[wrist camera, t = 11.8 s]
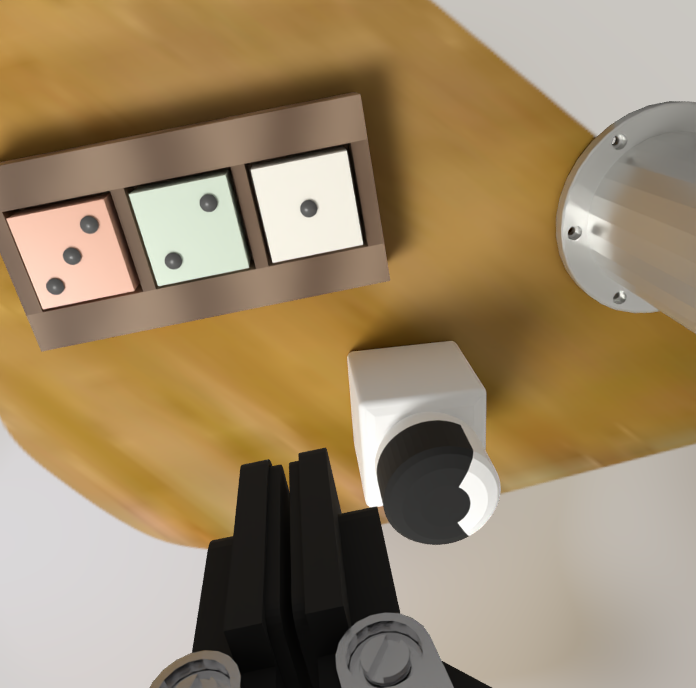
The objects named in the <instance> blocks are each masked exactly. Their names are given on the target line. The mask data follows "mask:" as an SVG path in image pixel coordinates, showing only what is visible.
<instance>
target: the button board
mask: <svg viewBox="0 0 696 688" xmlns="http://www.w3.org/2000/svg"><path fill="white" fill-rule="evenodd" d="M338 146H343V147H344V148H345V149H346V150H347V155H348V161H349V166H350V172H351V178H352V184H353V189H354V195H355V201H356V207H357V212H358V218H359V224H360V230H361V235H362V241H363V245H359V246H354V247H349V248H344V249H339V250H334V251H329V252H324V253H319V254H315V255H310V256H305V257H300V258H295V259H290V260H285V261H280V262H275V263H273V262H272V258H271V254H270V249H269V245H268V241H267V237H266V232H265V228H264V224H263V220H262V216H261V211H260V207H259V203H258V199H257V195H256V190H255V186H254V182H253V178H252V173H251V167H252V164H253V163H257V162H262V161H267V160H272V159H277V158H282V157H287V156H292V155H297V154H302V153H307V152H313V151H318V150H323V149H328V148H333V147H338ZM228 168H229V170H230V174H231V178H232V182H233V186H234V190H235V194H236V198H237V202H238V206H239V210H240V214H241V218H242V222H243V226H244V230H245V234H246V238H247V242H248V246H249V250H250V254H251V259H250V265H249V268H246V269H241V270H236V271H231V272H226V273H221V274H216V275H211V276H206V277H201V278H197V279H192V280H187V281H182V282H177V283H172V284H167V285H162V286H158V284H157V281H156V278H155V275H154V272H153V269H152V266H151V262H150V259H149V256H148V253H147V250H146V247H145V244H144V241H143V237H142V234H141V231H140V228H139V225H138V222H137V219H136V215H135V212H134V209H133V206H132V203H131V200H130V197H129V194H130V193H131V192H132V191H133V190H135V189H136V188H137V187H138V186H142V185H147V184H152V183H157V182H162V181H167V180H172V179H177V178H182V177H188V176H193V175H198V174H203V173H208V172H213V171H218V170H223V169H228ZM107 192H111V195H112V198H113V201H114V204H115V207H116V210H117V213H118V216H119V220H120V223H121V226H122V229H123V232H124V235H125V238H126V241H127V244H128V247H129V250H130V253H131V256H132V259H133V262H134V265H135V268H136V271H137V274H138V277H139V280H140V283H139V285H138V286H137V288H136V289H135V291H132V292H127V293H122V294H117V295H112V296H107V297H102V298H97V299H92V300H87V301H82V302H77V303H72V304H67V305H62V306H57V307H52V308H47V309H43V308H42V306H41V303H40V301H39V298H38V296H37V293H36V291H35V288H34V286H33V284H32V281H31V279H30V276H29V274H28V271H27V269H26V266H25V264H24V261H23V259H22V256H21V254H20V251H19V249H18V246H17V244H16V242H15V239H14V237H13V234H12V232H11V229H10V227H9V224H8V222H7V218H9V217H10V216H12V215H14V214H16V213H18V212H19V211H21V210H23V209H27V208H32V207H37V206H42V205H47V204H52V203H57V202H62V201H67V200H72V199H77V198H82V197H87V196H92V195H97V194H102V193H107ZM0 253H1V256H2V258H3V261H4V263H5V265H6V268H7V270H8V273H9V275H10V277H11V280H12V282H13V285H14V287H15V289H16V292H17V294H18V297H19V299H20V301H21V304H22V306H23V308H24V311H25V313H26V316H27V318H28V320H29V323H30V325H31V328H32V330H33V332H34V335H35V337H36V340H37V342H38V344H39V347H40V349H41V351H46V350H51V349H56V348H61V347H66V346H71V345H76V344H81V343H86V342H91V341H95V340H100V339H105V338H110V337H115V336H120V335H125V334H130V333H135V332H140V331H145V330H150V329H155V328H160V327H164V326H169V325H174V324H179V323H184V322H189V321H194V320H199V319H204V318H209V317H214V316H219V315H224V314H228V313H233V312H238V311H243V310H248V309H253V308H258V307H263V306H268V305H273V304H278V303H283V302H288V301H293V300H297V299H302V298H307V297H312V296H317V295H322V294H327V293H332V292H337V291H342V290H347V289H352V288H357V287H361V286H366V285H371V284H376V283H381V282H386V281H390V276H389V270H388V263H387V257H386V251H385V245H384V238H383V232H382V226H381V220H380V213H379V207H378V201H377V195H376V188H375V182H374V176H373V170H372V163H371V157H370V151H369V144H368V138H367V132H366V126H365V119H364V113H363V107H362V101H361V94H359V93H356V92H352V93H347V94H342V95H337V96H332V97H327V98H322V99H317V100H311V101H306V102H301V103H296V104H291V105H286V106H281V107H276V108H271V109H266V110H261V111H256V112H251V113H246V114H241V115H236V116H231V117H226V118H221V119H216V120H211V121H205V122H200V123H195V124H190V125H185V126H180V127H175V128H170V129H165V130H160V131H155V132H150V133H145V134H140V135H135V136H130V137H125V138H120V139H115V140H110V141H104V142H99V143H94V144H89V145H84V146H79V147H74V148H69V149H64V150H59V151H54V152H49V153H44V154H39V155H34V156H29V157H24V158H19V159H14V160H9V161H4V162H0Z"/></svg>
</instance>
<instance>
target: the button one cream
mask: <svg viewBox="0 0 696 688" xmlns="http://www.w3.org/2000/svg"><path fill="white" fill-rule="evenodd" d="M251 173H252V178H253V182H254V186H255V190H256V195H257V199H258V203H259V207H260V211H261V216H262V220H263V224H264V228H265V232H266V237H267V241H268V245H269V249H270V254H271V258H272V262H273V263H275V262H280V261H285V260H290V259H295V258H300V257H305V256H310V255H315V254H319V253H324V252H329V251H334V250H339V249H344V248H349V247H354V246H359V245H363V241H362V235H361V230H360V224H359V218H358V212H357V207H356V201H355V195H354V189H353V184H352V178H351V172H350V166H349V161H348V155H347V150H346V149H345V148H344V147H343V146H338V147H333V148H328V149H323V150H318V151H313V152H307V153H302V154H297V155H292V156H287V157H282V158H277V159H272V160H267V161H262V162H257V163H253V164H252V167H251Z"/></svg>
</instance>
